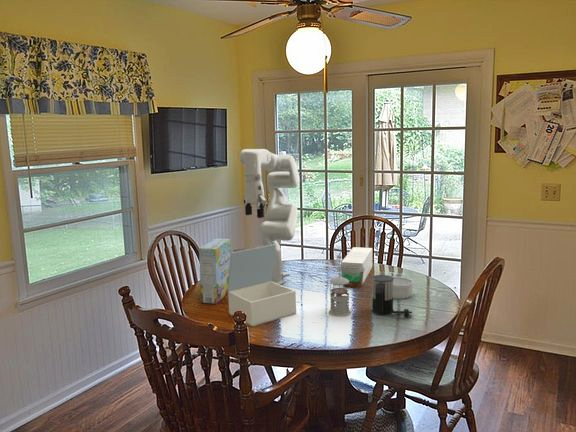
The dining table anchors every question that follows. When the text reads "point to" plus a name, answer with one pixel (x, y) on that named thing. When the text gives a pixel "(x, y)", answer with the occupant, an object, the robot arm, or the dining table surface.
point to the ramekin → (402, 287)
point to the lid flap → (251, 266)
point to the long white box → (359, 260)
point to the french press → (339, 297)
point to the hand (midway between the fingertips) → (254, 216)
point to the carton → (263, 302)
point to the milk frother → (384, 295)
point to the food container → (353, 276)
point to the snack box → (214, 270)
